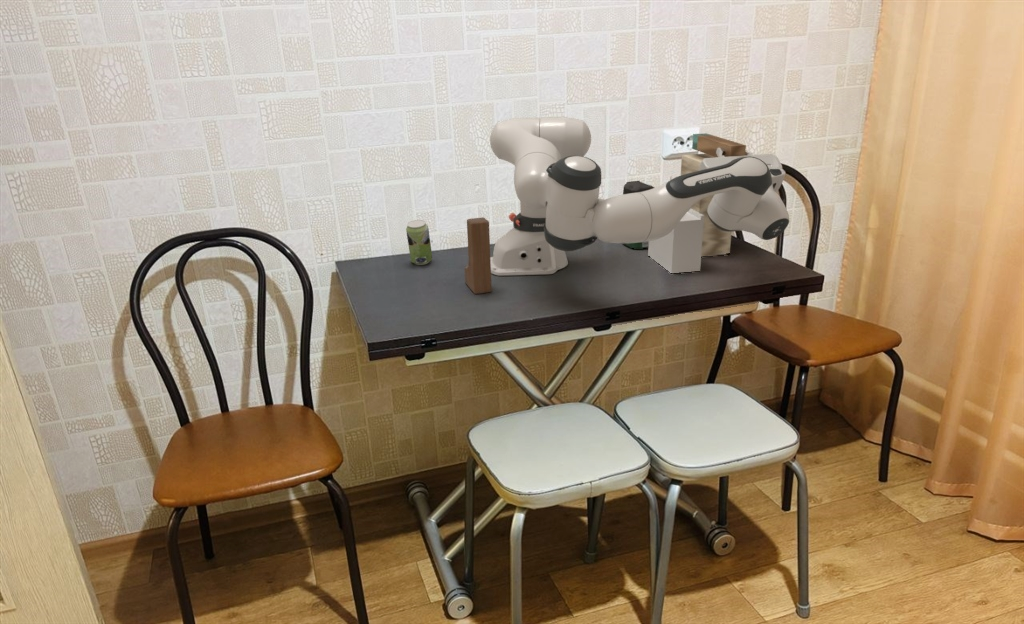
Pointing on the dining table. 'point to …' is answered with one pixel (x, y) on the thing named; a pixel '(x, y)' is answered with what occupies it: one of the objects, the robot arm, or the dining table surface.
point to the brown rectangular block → (717, 145)
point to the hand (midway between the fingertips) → (729, 148)
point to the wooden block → (478, 256)
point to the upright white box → (680, 245)
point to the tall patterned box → (712, 236)
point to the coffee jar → (634, 188)
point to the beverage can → (419, 242)
